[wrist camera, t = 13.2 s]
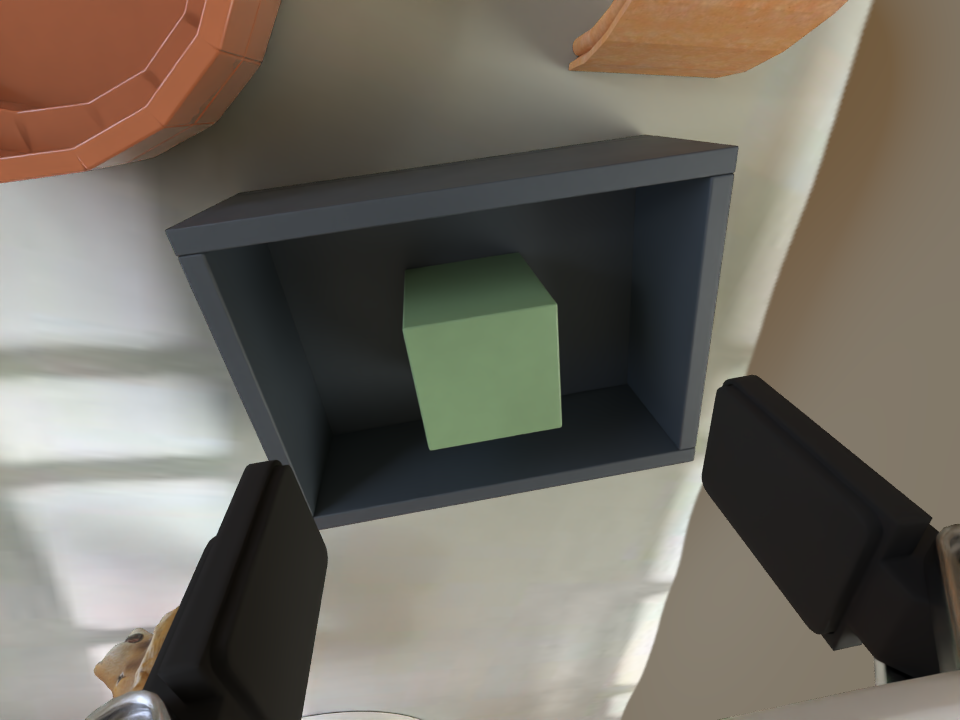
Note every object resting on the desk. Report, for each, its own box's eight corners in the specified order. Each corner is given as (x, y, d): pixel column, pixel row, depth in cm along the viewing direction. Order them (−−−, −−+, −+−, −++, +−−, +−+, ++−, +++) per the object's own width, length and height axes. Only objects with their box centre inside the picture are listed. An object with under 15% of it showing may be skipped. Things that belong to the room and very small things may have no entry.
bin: (237, 193, 17) (163, 230, 12) (645, 134, 18) (739, 145, 13) (325, 438, 22) (300, 534, 17) (633, 384, 23) (694, 461, 18)
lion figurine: (160, 521, 24) (36, 728, 16) (267, 506, 24) (198, 699, 16) (250, 678, 31) (195, 873, 23) (331, 663, 31) (305, 850, 23)
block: (404, 269, 18) (402, 329, 13) (519, 251, 18) (558, 303, 14) (425, 369, 20) (429, 452, 16) (527, 352, 21) (562, 428, 16)
